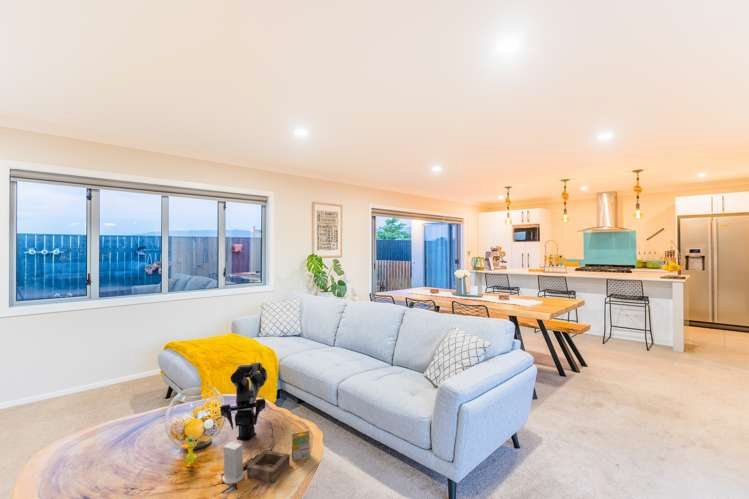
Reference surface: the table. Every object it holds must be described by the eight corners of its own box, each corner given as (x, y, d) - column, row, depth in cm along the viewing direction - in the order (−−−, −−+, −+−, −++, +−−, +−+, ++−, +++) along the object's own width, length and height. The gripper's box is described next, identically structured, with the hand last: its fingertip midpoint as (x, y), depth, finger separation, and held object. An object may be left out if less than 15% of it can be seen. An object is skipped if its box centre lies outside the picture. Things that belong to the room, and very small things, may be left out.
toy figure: (178, 469, 148) (177, 440, 148) (182, 463, 152) (182, 435, 152) (195, 468, 149) (194, 439, 148) (199, 463, 152) (198, 435, 152)
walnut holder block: (247, 478, 142) (246, 466, 142) (264, 460, 154) (264, 449, 154) (273, 483, 139) (273, 472, 139) (289, 464, 151) (289, 454, 150)
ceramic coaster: (217, 481, 140) (217, 480, 140) (231, 469, 148) (231, 467, 148) (235, 485, 138) (235, 484, 138) (248, 472, 146) (248, 471, 146)
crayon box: (308, 453, 158) (308, 427, 158) (310, 457, 156) (309, 430, 155) (291, 457, 156) (291, 430, 156) (292, 461, 153) (292, 434, 153)
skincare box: (243, 473, 144) (243, 444, 144) (235, 480, 140) (235, 449, 140) (231, 470, 146) (230, 441, 146) (223, 476, 142) (223, 446, 142)
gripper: (219, 387, 157) (219, 425, 147) (264, 381, 164) (267, 416, 154) (221, 397, 165) (220, 433, 155) (263, 391, 171) (266, 425, 162)
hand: (244, 427), depth 156 cm, fingers open, 9 cm apart
